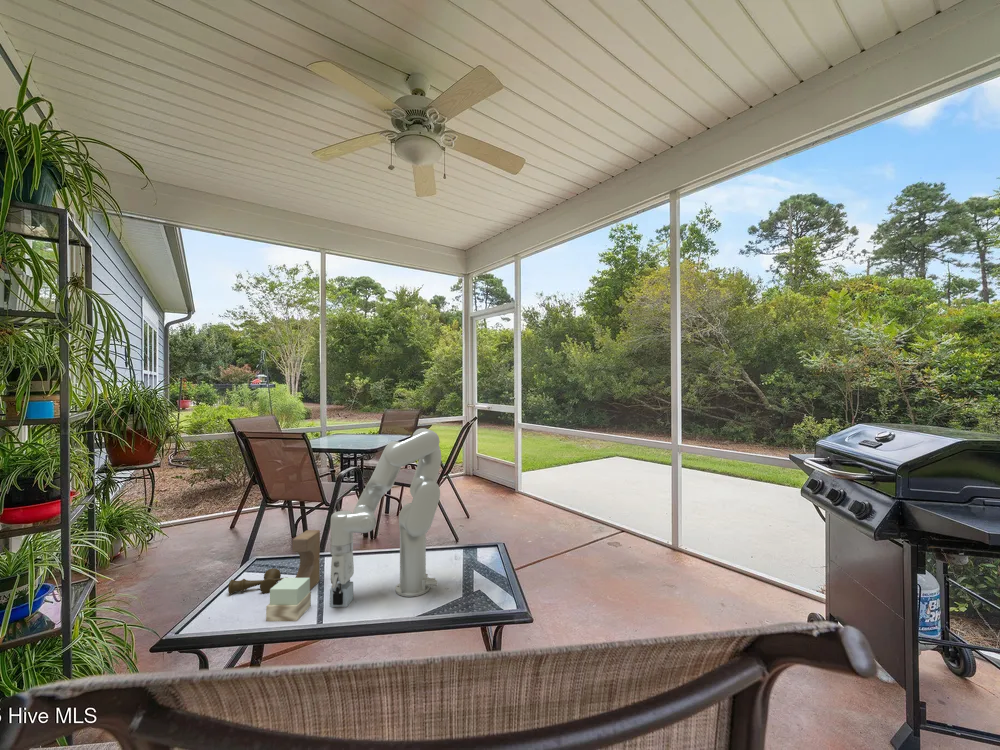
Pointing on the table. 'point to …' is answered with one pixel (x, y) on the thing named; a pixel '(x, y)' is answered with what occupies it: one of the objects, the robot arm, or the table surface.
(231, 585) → the kendama
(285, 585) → the upper tower block
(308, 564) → the decorative block
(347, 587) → the grey-blue cube
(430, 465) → the robot arm
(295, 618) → the lower tower block
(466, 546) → the table surface
